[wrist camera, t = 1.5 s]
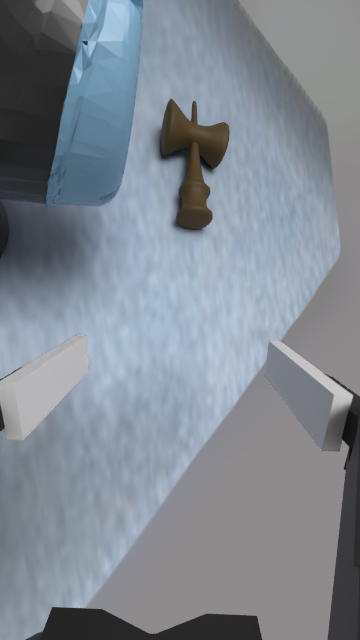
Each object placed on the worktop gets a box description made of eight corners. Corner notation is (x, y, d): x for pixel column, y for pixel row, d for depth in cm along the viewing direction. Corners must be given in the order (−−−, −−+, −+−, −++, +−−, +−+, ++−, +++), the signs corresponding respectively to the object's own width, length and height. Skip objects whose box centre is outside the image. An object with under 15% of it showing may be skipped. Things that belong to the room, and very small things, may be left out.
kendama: (157, 227, 31) (159, 110, 34) (214, 238, 34) (213, 130, 37) (167, 202, 26) (169, 63, 28) (235, 217, 29) (231, 91, 31)
